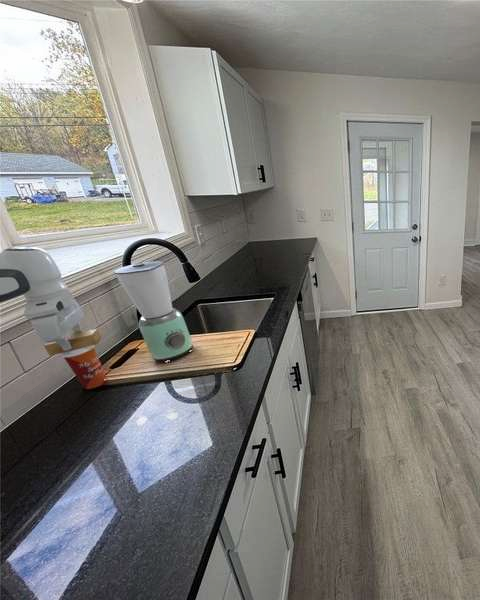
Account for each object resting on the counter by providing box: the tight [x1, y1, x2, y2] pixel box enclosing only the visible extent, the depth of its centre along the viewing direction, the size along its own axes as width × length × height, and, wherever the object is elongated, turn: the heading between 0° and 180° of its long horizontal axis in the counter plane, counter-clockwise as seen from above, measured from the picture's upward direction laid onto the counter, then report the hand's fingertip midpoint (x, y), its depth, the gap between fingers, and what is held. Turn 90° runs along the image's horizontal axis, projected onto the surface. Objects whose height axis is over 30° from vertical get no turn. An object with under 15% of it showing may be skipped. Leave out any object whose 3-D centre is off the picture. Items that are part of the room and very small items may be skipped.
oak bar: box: [43, 328, 102, 357], centre depth 97 cm, size 11×5×4 cm, turn 120°
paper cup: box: [60, 345, 108, 390], centre depth 100 cm, size 8×8×14 cm
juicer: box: [113, 260, 194, 363], centre depth 111 cm, size 19×13×35 cm
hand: (74, 342), depth 97 cm, fingers open, 8 cm apart
